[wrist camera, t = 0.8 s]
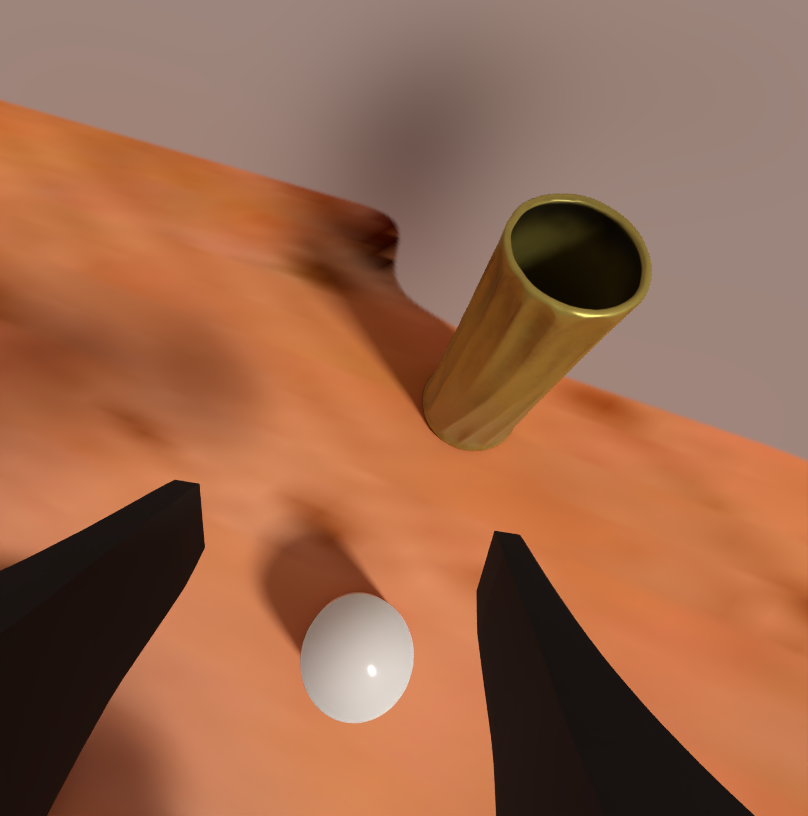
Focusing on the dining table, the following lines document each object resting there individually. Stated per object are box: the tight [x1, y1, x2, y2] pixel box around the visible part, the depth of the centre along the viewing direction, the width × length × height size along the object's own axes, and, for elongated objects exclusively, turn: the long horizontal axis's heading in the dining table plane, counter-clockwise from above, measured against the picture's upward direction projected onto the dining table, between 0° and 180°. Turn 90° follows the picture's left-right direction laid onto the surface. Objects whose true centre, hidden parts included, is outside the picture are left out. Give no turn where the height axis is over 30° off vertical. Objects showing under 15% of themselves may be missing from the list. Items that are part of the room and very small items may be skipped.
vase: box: [423, 194, 652, 451], centre depth 21 cm, size 6×6×14 cm
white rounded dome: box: [300, 592, 414, 723], centre depth 20 cm, size 5×5×4 cm
